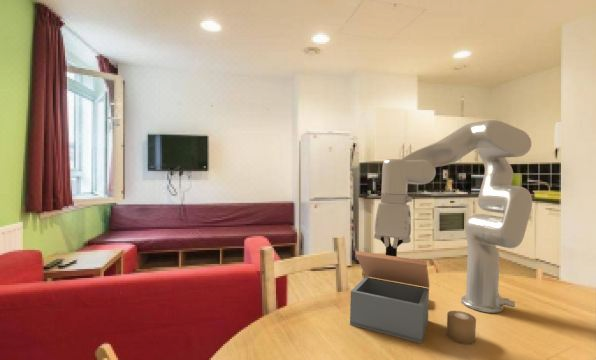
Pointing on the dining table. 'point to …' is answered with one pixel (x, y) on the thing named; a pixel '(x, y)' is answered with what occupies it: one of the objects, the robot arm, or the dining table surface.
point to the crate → (390, 308)
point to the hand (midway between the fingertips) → (390, 259)
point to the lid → (394, 268)
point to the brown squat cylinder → (461, 327)
